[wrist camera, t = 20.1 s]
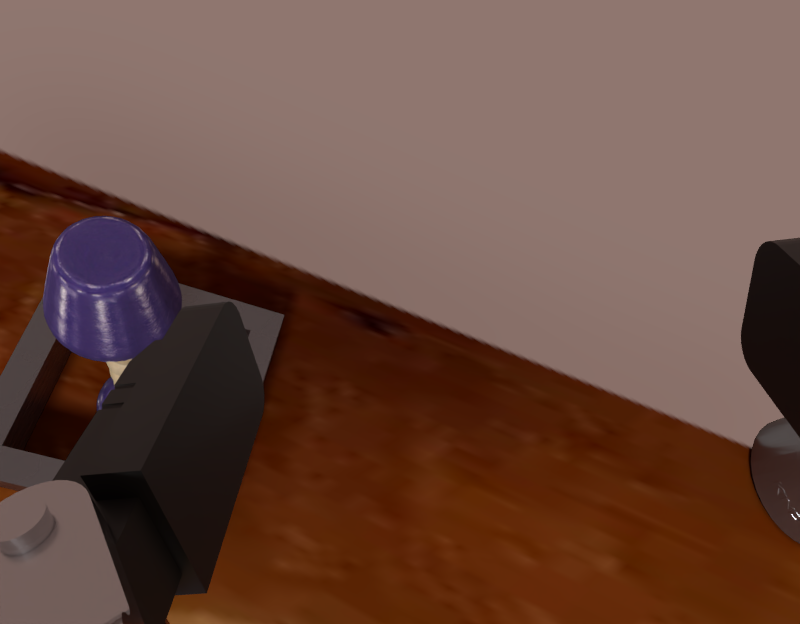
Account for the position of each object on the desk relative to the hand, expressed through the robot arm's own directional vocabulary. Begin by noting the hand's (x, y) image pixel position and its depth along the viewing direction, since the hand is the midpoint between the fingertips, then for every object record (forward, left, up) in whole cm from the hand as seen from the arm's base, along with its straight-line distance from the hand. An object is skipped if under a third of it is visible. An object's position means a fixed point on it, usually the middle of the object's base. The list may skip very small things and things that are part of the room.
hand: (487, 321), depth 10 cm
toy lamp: (+4, -9, -27) cm, 29 cm away
